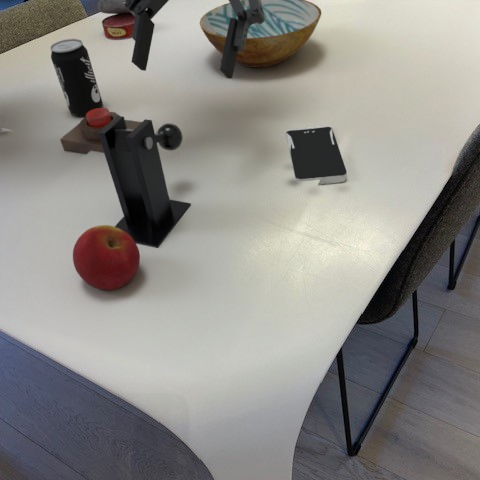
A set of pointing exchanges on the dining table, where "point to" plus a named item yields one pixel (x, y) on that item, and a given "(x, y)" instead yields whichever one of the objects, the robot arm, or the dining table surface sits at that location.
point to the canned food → (116, 19)
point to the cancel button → (98, 117)
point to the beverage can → (76, 76)
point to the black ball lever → (165, 137)
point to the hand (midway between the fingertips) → (180, 70)
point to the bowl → (265, 30)
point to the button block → (88, 136)
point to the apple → (106, 257)
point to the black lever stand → (141, 184)
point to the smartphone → (316, 155)
